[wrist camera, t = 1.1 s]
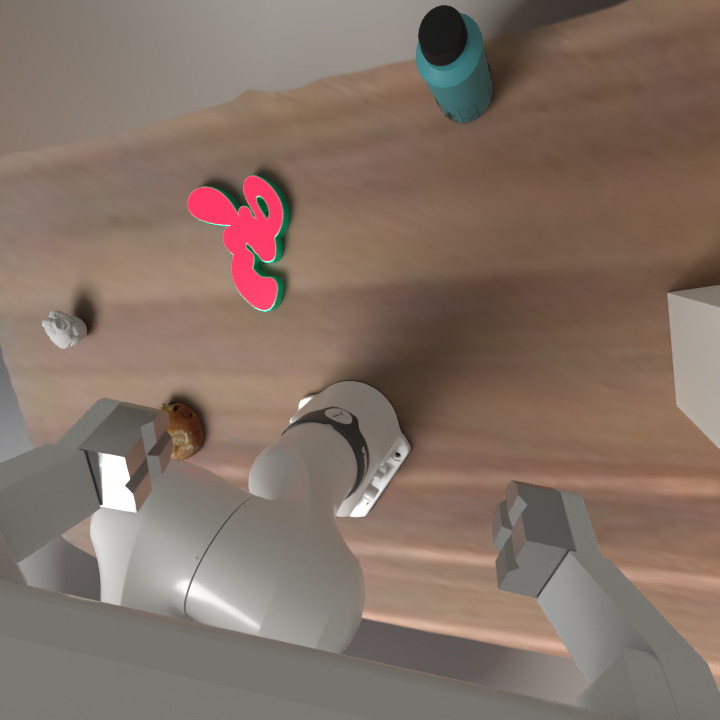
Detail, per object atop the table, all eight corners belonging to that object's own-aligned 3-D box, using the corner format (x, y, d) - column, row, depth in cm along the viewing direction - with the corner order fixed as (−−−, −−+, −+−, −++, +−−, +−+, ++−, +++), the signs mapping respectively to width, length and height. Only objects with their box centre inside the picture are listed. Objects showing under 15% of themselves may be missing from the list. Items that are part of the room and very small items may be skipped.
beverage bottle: (504, 79, 56) (494, -7, 37) (480, 136, 58) (460, 82, 39) (454, 63, 57) (420, -27, 39) (432, 120, 59) (391, 60, 41)
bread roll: (173, 431, 90) (146, 462, 84) (155, 392, 83) (124, 423, 77) (217, 441, 87) (191, 475, 81) (201, 402, 80) (173, 435, 74)
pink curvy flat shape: (193, 192, 73) (183, 191, 71) (283, 168, 68) (275, 165, 65) (220, 317, 77) (211, 319, 74) (308, 304, 71) (301, 305, 69)
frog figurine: (94, 309, 85) (59, 314, 78) (96, 347, 86) (62, 354, 80) (69, 305, 86) (32, 309, 80) (71, 342, 88) (36, 349, 82)
